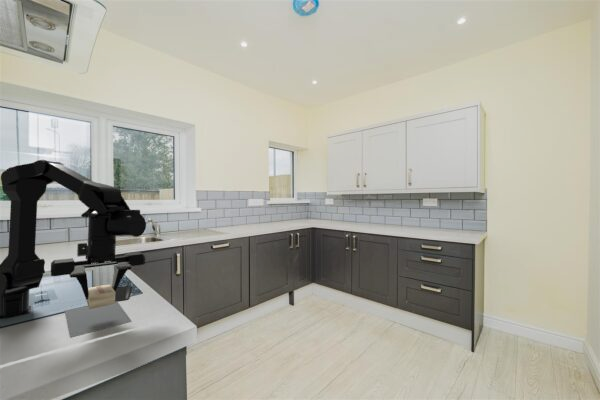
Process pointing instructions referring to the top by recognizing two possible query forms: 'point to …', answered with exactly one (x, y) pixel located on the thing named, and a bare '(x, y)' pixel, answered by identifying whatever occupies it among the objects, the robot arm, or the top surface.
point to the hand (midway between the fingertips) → (100, 296)
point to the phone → (122, 293)
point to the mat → (94, 318)
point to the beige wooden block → (100, 296)
